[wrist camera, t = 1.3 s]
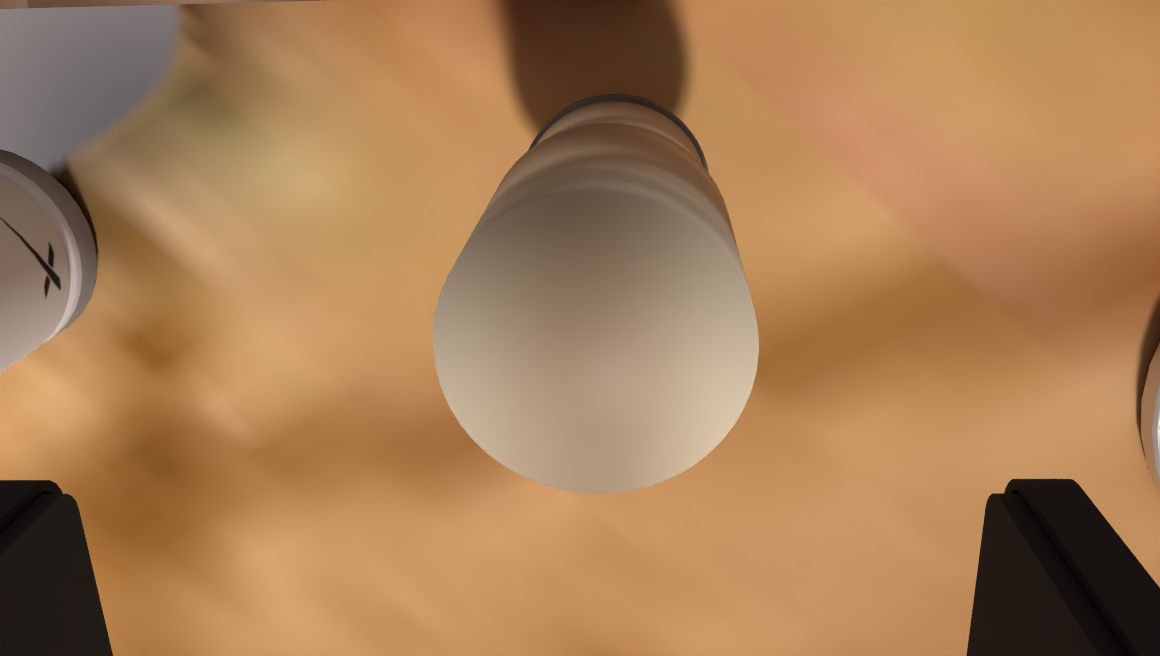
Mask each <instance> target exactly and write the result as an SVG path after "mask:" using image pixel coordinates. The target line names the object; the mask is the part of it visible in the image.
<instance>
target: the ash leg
mask: <svg viewBox="0 0 1160 656" xmlns="http://www.w3.org/2000/svg"><path fill="white" fill-rule="evenodd" d="M758 353H759V341H758V327H757V321H756V316H755V310H754V307H753V303H752V299H751V296H750V292H749V288H748V284H747V281H746V277H745V273H744V270H743V266H742V262H741V259H740V255H739V251H738V248H737V244H736V240H735V237H734V233H733V229H732V226H731V222H730V218H729V215H728V211H727V208H726V205H725V202H724V199H723V197H722V195H721V193H720V191H719V189H718V187H717V185H716V183H715V182H714V180H713V179H712V177H711V176H710V174H709V172H708V167H707V163H706V160H705V157H704V154H703V152H702V150H701V148H700V145H699V143H698V141H697V140H696V138H695V137H694V135H693V134H692V132H691V131H690V130H689V129H688V127H687V126H686V125H685V124H684V123H683V122H682V121H681V120H680V119H679V118H678V117H676V116H675V115H674V114H673V113H671V112H670V111H668V110H667V109H665V108H664V107H662V106H660V105H658V104H656V103H654V102H652V101H649V100H646V99H643V98H640V97H636V96H630V95H621V94H609V95H599V96H595V97H590V98H587V99H584V100H581V101H579V102H576V103H574V104H572V105H570V106H568V107H566V108H565V109H563V110H562V111H561V112H559V113H558V114H556V115H555V116H554V117H553V118H552V119H551V120H550V121H548V122H547V123H546V124H545V126H544V127H543V128H542V129H541V131H540V132H539V133H538V134H537V136H536V138H535V139H534V141H533V143H532V144H531V146H530V148H529V150H528V151H527V152H526V153H525V154H524V155H523V156H522V157H521V158H520V159H519V160H518V161H516V163H515V164H514V165H513V166H512V168H511V169H510V170H509V171H508V172H507V174H506V175H505V177H504V179H503V180H502V182H501V183H500V185H499V187H498V188H497V190H496V192H495V194H494V195H493V197H492V199H491V201H490V202H489V204H488V206H487V208H486V209H485V211H484V213H483V215H482V216H481V218H480V220H479V222H478V223H477V225H476V227H475V229H474V230H473V232H472V234H471V236H470V238H469V239H468V241H467V243H466V245H465V246H464V248H463V250H462V252H461V253H460V255H459V257H458V259H457V260H456V262H455V264H454V266H453V267H452V269H451V271H450V273H449V274H448V277H447V279H446V281H445V284H444V286H443V288H442V291H441V293H440V296H439V300H438V304H437V307H436V311H435V318H434V326H433V354H434V361H435V367H436V372H437V375H438V379H439V382H440V385H441V389H442V391H443V393H444V396H445V398H446V400H447V402H448V404H449V407H450V408H451V410H452V412H453V413H454V415H455V417H456V418H457V420H458V421H459V423H460V424H461V426H462V427H463V428H464V429H465V431H466V432H467V433H468V434H469V436H470V437H471V438H472V439H473V440H474V441H475V442H476V443H477V444H478V445H479V446H480V447H481V448H482V449H483V450H484V451H485V452H486V453H487V454H489V455H490V456H491V457H493V458H494V459H495V460H497V461H498V462H499V463H501V464H502V465H504V466H505V467H507V468H509V469H511V470H512V471H514V472H516V473H518V474H519V475H521V476H524V477H526V478H528V479H530V480H533V481H535V482H537V483H540V484H544V485H547V486H550V487H554V488H557V489H562V490H567V491H573V492H580V493H595V494H601V493H619V492H625V491H631V490H637V489H641V488H644V487H647V486H651V485H654V484H657V483H660V482H662V481H664V480H667V479H669V478H672V477H674V476H676V475H678V474H679V473H681V472H683V471H685V470H686V469H688V468H690V467H692V466H693V465H694V464H696V463H697V462H698V461H700V460H701V459H702V458H704V457H705V456H706V455H708V454H709V453H710V452H711V451H712V450H713V449H714V448H715V447H716V446H717V445H718V444H719V443H720V442H721V441H722V440H723V439H724V437H725V436H726V435H727V433H728V432H729V431H730V430H731V428H732V427H733V426H734V424H735V423H736V421H737V419H738V418H739V416H740V414H741V412H742V411H743V409H744V407H745V405H746V402H747V400H748V397H749V395H750V393H751V390H752V387H753V383H754V379H755V375H756V371H757V363H758Z"/></svg>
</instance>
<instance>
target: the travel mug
mask: <svg viewBox="0 0 1160 656" xmlns="http://www.w3.org/2000/svg"><path fill="white" fill-rule="evenodd" d="M96 275H97V256H96V247H95V243H94V239H93V236H92V233H91V230H90V227H89V224H88V222H87V220H86V218H85V216H84V215H83V213H82V211H81V209H80V207H79V206H78V204H77V203H76V202H75V200H74V199H73V198H72V196H71V195H70V194H69V192H68V191H67V190H66V189H65V188H64V187H63V186H62V185H61V184H60V183H59V182H58V181H57V180H56V179H55V178H54V177H53V176H52V175H51V174H49V173H48V172H46V171H45V170H43V169H42V168H40V167H39V166H37V165H36V164H35V163H33V162H31V161H29V160H27V159H25V158H23V157H21V156H18V155H16V154H14V153H12V152H8V151H4V150H0V373H2V372H3V371H5V370H6V369H8V368H9V367H10V366H12V365H13V364H15V363H16V362H18V361H19V360H21V359H22V358H23V357H25V356H26V355H28V354H29V353H31V352H32V351H33V350H35V349H36V348H38V347H39V346H41V345H42V344H43V343H44V342H46V341H48V340H49V339H51V338H52V337H54V336H55V335H56V334H58V333H59V332H61V331H62V330H64V329H65V328H67V327H68V326H69V325H70V324H71V323H72V322H74V321H75V320H76V319H77V318H78V317H79V316H80V315H81V314H82V312H83V310H84V309H85V307H86V305H87V304H88V302H89V300H90V299H91V296H92V293H93V289H94V286H95V283H96Z"/></svg>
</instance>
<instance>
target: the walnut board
mask: <svg viewBox="0 0 1160 656" xmlns="http://www.w3.org/2000/svg"><path fill="white" fill-rule="evenodd" d="M280 1H318V0H0V9H11V8H12V9H13V8H48V7H49V8H51V7H85V6H86V7H90V6H125V5H126V6H128V5H166V4H204V3H242V2H280Z"/></svg>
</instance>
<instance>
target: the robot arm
mask: <svg viewBox="0 0 1160 656" xmlns="http://www.w3.org/2000/svg"><path fill="white" fill-rule="evenodd" d="M1141 438H1142V443H1143V448H1144V452H1145V457H1146V461H1147V466H1148V469H1149V471H1150V473H1151V475H1152V478H1153V480H1154V482H1155V484H1156V486H1157V488H1158V490H1159V492H1160V343H1159V345H1158V347H1157V349H1156V352H1155V354H1154V356H1153V358H1152V361H1151V363H1150V366H1149V370H1148V375H1147V379H1146V383H1145V387H1144V392H1143V396H1142V400H1141ZM0 656H113V654H112V650H111V645H110V641H109V637H108V632H107V628H106V624H105V619H104V615H103V611H102V607H101V602H100V598H99V594H98V589H97V585H96V581H95V577H94V572H93V568H92V564H91V559H90V555H89V551H88V547H87V542H86V538H85V534H84V529H83V525H82V521H81V517H80V512H79V508H78V506H77V503H76V501H75V499H74V498H73V497H72V496H70V495H68V494H63V493H62V490H61V489H60V488H59V487H58V485H57V484H56V483H54V482H52V481H50V480H0ZM967 656H1160V588H1159V587H1158V585H1157V584H1156V583H1155V581H1154V580H1153V579H1152V578H1151V576H1150V575H1149V574H1148V572H1147V571H1146V570H1145V569H1144V567H1143V566H1142V565H1141V564H1140V562H1139V561H1138V560H1137V558H1136V557H1135V556H1134V555H1133V553H1132V552H1131V551H1130V550H1129V548H1128V547H1127V546H1126V544H1125V543H1124V542H1123V541H1122V539H1121V538H1120V537H1119V535H1118V534H1117V533H1116V532H1115V530H1114V529H1113V528H1112V527H1111V525H1110V524H1109V523H1108V521H1107V520H1106V519H1105V518H1104V516H1103V515H1102V514H1101V512H1100V511H1099V510H1098V509H1097V507H1096V506H1095V505H1094V504H1093V502H1092V501H1091V500H1090V498H1089V497H1088V496H1087V495H1086V493H1085V492H1084V491H1083V490H1082V488H1081V487H1080V486H1079V484H1077V483H1076V482H1075V481H1074V480H1072V479H1012V480H1011V481H1010V482H1009V483H1008V485H1007V487H1006V489H1005V493H1004V494H991V495H990V496H989V498H988V501H987V504H986V509H985V517H984V525H983V533H982V540H981V548H980V556H979V564H978V572H977V579H976V587H975V595H974V603H973V611H972V618H971V626H970V634H969V642H968V650H967Z"/></svg>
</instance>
